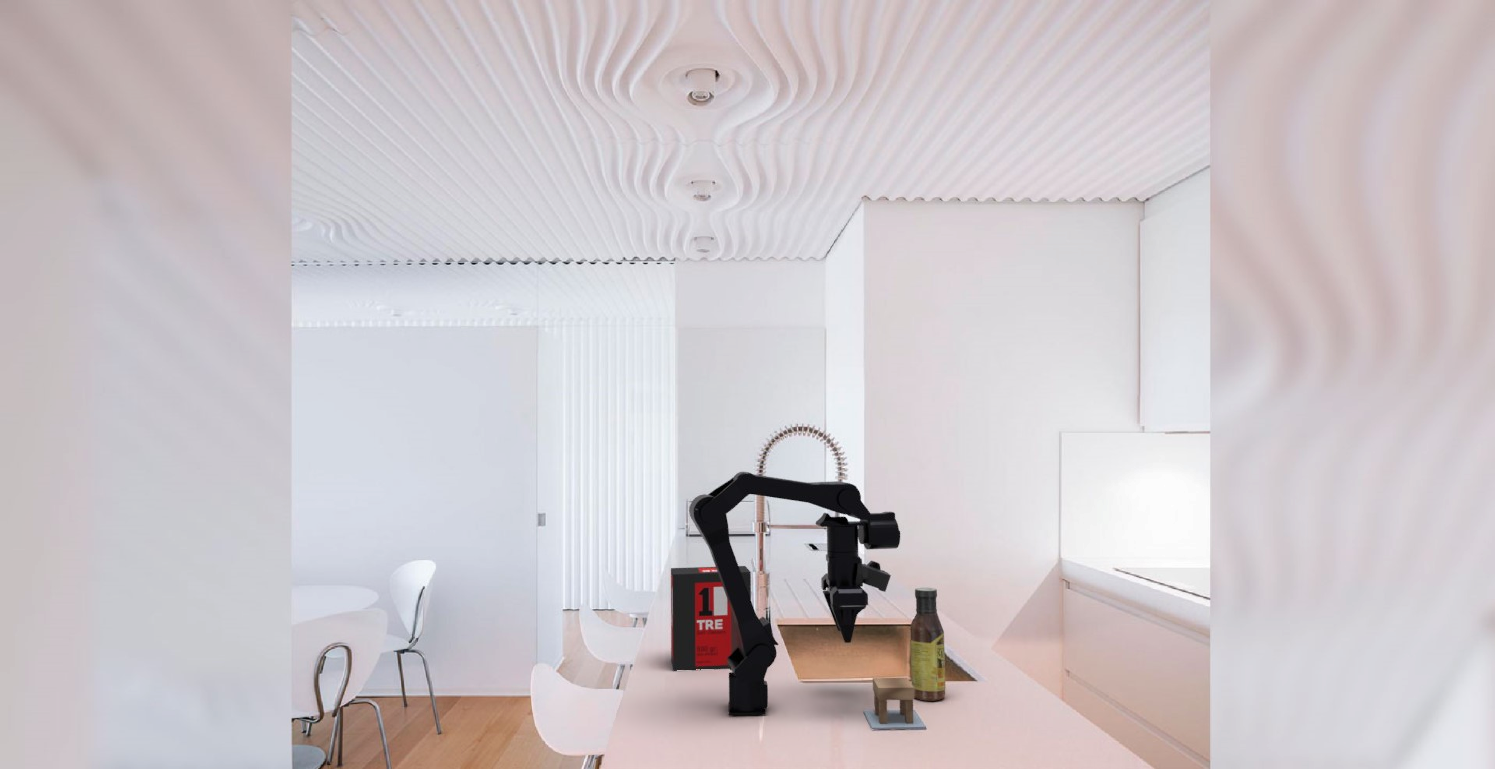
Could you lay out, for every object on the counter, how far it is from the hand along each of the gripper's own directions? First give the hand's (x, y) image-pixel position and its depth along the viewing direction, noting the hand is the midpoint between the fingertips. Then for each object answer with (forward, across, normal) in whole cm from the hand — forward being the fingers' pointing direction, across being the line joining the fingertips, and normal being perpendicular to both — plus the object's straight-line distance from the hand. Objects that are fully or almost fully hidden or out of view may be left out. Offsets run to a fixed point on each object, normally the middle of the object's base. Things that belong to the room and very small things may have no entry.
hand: (844, 636), depth 158 cm
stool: (+12, -10, -7) cm, 17 cm away
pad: (+12, -10, -7) cm, 17 cm away
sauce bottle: (+12, +3, -16) cm, 20 cm away
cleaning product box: (+12, +29, +25) cm, 40 cm away
